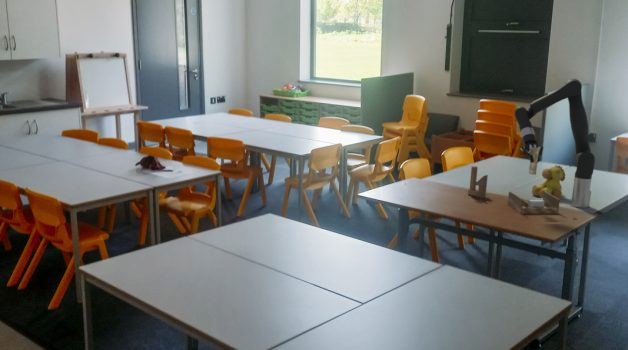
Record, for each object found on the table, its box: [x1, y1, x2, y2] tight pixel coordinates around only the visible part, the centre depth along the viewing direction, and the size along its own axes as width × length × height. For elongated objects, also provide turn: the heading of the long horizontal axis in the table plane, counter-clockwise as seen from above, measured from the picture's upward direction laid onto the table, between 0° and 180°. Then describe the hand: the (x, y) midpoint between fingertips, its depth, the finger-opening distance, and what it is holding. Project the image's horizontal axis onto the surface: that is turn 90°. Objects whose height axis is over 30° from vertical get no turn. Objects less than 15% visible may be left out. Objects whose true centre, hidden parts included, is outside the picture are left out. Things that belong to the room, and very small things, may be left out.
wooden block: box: [467, 165, 488, 199], centre depth 403 cm, size 4×11×18 cm, turn 41°
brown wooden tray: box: [507, 190, 561, 215], centre depth 374 cm, size 22×18×9 cm
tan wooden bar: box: [528, 147, 539, 176], centre depth 374 cm, size 2×4×15 cm, turn 6°
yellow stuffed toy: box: [531, 164, 566, 200], centre depth 409 cm, size 20×24×19 cm
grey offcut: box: [527, 199, 545, 207], centre depth 370 cm, size 8×3×3 cm, turn 96°
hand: (535, 162), depth 372 cm, fingers closed on tan wooden bar, 2 cm apart
